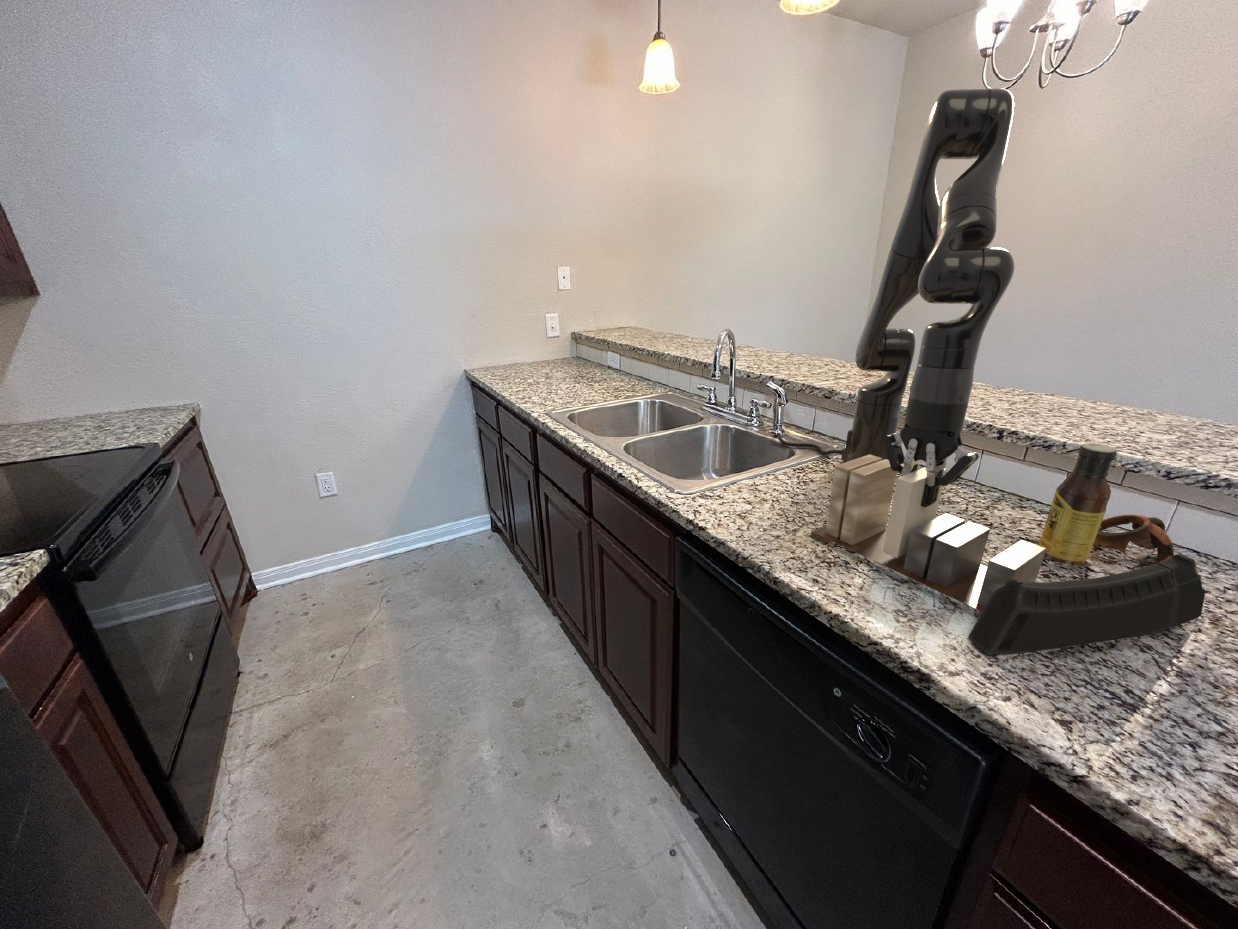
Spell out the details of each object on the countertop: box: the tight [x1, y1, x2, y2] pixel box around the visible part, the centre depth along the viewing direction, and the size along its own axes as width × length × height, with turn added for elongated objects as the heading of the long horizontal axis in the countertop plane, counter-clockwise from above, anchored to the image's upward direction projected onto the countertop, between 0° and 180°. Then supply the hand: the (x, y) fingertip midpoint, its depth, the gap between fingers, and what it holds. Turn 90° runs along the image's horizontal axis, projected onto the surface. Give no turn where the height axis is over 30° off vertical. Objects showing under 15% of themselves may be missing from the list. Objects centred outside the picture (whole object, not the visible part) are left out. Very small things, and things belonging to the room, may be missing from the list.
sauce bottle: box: [1038, 442, 1118, 566], centre depth 78 cm, size 6×6×20 cm
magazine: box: [967, 553, 1206, 656], centre depth 62 cm, size 17×3×30 cm
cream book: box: [883, 466, 947, 558], centre depth 80 cm, size 2×10×13 cm, turn 123°
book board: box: [810, 455, 1046, 613], centre depth 79 cm, size 31×13×14 cm, turn 32°
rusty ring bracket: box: [1092, 514, 1175, 561], centre depth 82 cm, size 12×10×8 cm
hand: (916, 501), depth 79 cm, fingers closed on cream book, 2 cm apart
